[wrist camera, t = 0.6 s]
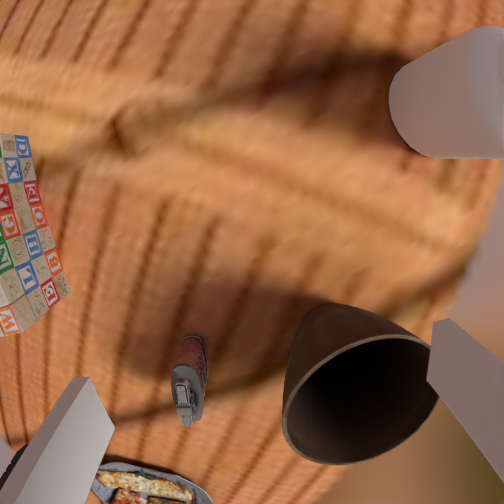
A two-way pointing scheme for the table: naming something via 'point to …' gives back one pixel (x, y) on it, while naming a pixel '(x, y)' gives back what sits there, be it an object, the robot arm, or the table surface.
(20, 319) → the stack of blocks
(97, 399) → the robot arm
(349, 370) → the plant pot
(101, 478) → the food plate
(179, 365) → the lighter
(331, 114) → the table surface
